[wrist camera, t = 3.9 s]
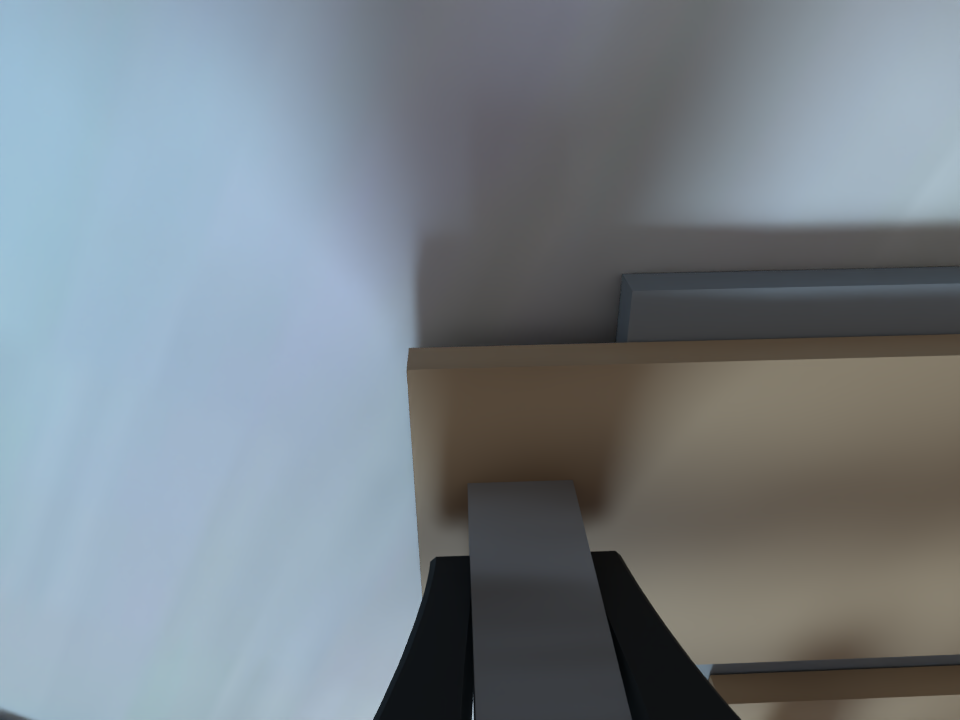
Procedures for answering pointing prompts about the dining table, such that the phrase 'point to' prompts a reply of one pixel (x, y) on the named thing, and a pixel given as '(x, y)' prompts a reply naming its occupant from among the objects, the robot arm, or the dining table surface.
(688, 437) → the strip
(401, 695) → the robot arm
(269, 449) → the dining table surface
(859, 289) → the lane board
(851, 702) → the strip
